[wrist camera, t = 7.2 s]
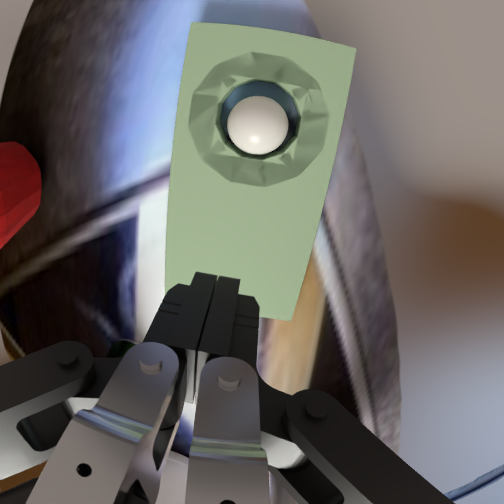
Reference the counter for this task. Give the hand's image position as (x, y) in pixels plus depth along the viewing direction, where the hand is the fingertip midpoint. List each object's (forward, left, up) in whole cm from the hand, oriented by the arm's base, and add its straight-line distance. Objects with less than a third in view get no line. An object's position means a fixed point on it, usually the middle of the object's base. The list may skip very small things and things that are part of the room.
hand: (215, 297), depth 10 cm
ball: (+3, -3, -15) cm, 15 cm away
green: (-1, +1, -17) cm, 17 cm away
